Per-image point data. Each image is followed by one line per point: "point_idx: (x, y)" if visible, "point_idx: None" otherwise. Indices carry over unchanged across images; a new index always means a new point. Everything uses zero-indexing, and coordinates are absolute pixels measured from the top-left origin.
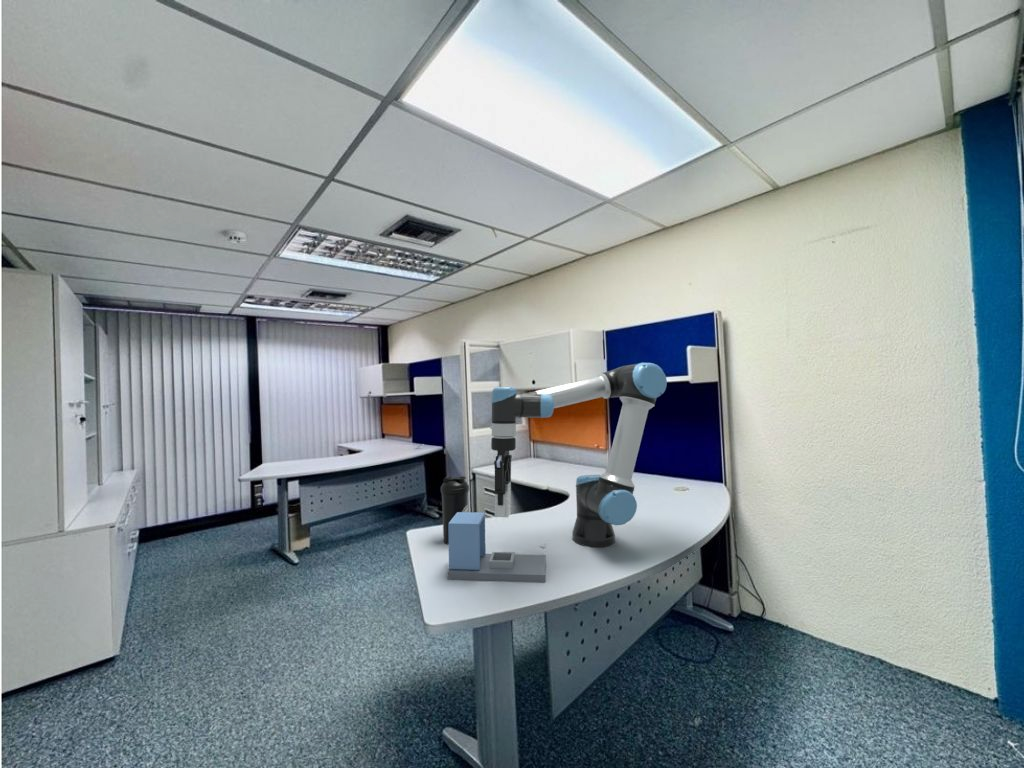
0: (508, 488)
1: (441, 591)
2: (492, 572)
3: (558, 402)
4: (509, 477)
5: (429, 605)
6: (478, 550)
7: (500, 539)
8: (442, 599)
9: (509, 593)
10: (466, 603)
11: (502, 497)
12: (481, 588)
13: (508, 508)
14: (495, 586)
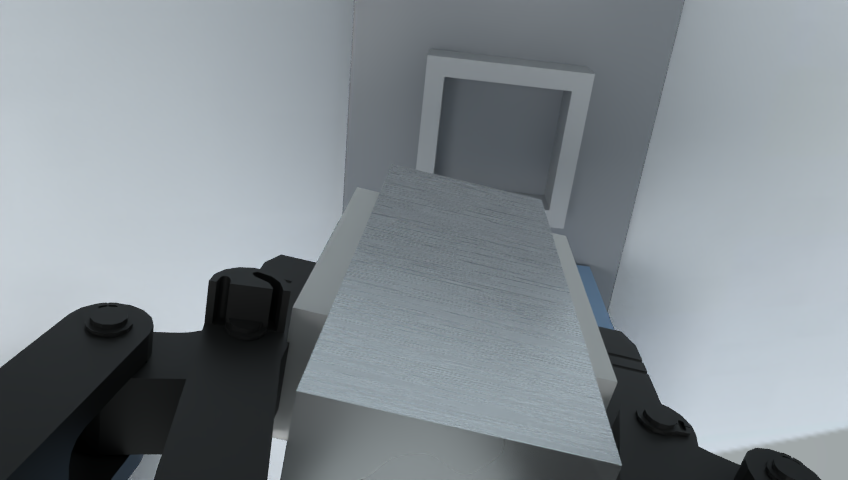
0: (537, 378)
1: (696, 402)
2: (623, 191)
3: None
4: (49, 446)
5: (813, 432)
6: (610, 327)
7: (7, 138)
8: (774, 391)
9: (799, 82)
10: (842, 292)
11: (645, 397)
12: (705, 232)
13: (504, 222)
14: (698, 161)
